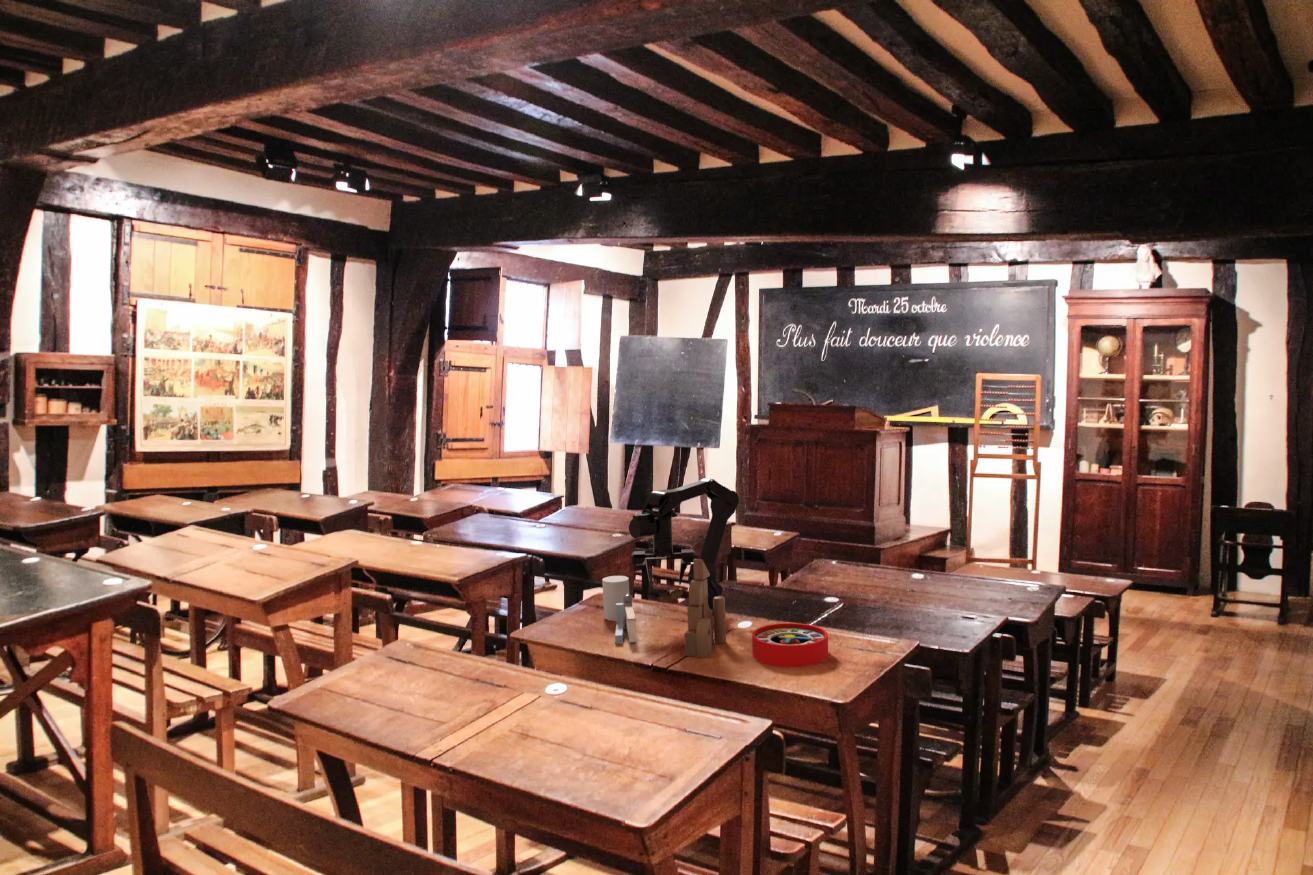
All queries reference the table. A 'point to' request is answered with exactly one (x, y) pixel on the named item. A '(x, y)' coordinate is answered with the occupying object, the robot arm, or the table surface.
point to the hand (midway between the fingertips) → (664, 585)
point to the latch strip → (619, 624)
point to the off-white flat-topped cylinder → (614, 594)
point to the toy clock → (790, 644)
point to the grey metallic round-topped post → (627, 602)
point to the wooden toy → (703, 616)
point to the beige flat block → (630, 623)
